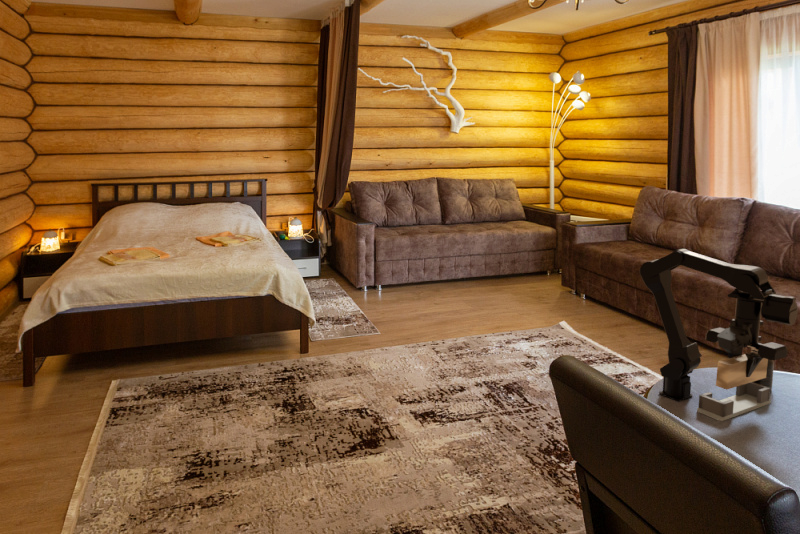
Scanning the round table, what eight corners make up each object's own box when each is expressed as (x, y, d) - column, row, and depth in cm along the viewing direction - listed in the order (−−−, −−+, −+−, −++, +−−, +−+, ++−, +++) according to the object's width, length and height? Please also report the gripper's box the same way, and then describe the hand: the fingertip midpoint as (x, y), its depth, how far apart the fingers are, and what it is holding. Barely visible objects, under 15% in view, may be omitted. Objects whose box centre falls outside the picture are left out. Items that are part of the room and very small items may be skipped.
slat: (715, 385, 159) (718, 361, 158) (754, 374, 166) (757, 350, 165) (726, 389, 156) (728, 365, 155) (765, 377, 164) (768, 354, 162)
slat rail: (697, 411, 165) (698, 395, 164) (745, 394, 175) (746, 379, 174) (721, 421, 159) (722, 404, 158) (770, 403, 169) (771, 387, 168)
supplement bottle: (772, 386, 180) (775, 346, 178) (771, 394, 175) (775, 353, 172) (745, 382, 184) (748, 343, 182) (743, 390, 178) (746, 350, 176)
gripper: (694, 312, 162) (689, 369, 165) (763, 331, 146) (757, 393, 149) (721, 306, 167) (716, 361, 170) (792, 324, 151) (785, 384, 154)
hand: (741, 374), depth 161 cm, fingers closed on slat, 3 cm apart
